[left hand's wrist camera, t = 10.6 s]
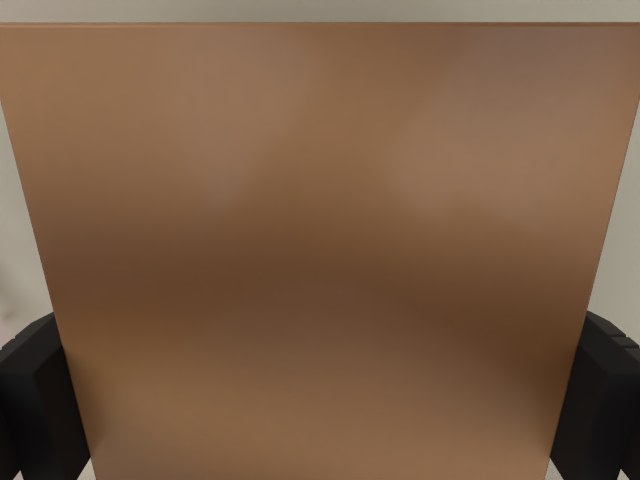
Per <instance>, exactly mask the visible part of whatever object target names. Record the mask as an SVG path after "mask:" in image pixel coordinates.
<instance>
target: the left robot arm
mask: <svg viewBox="0 0 640 480" xmlns="http://www.w3.org/2000/svg"><path fill="white" fill-rule="evenodd" d="M550 458H551V460H552V462H553V463H554V465H555V466H556V468H557V470H558V471H559V473H560V474H561V476H562V478H563V479H564V480H617V478H618V475H619V472H620V469H622V471H623V472H624V473H625V474H626V476H627V477H628V478H629V480H640V348H639V345H638V344H637V343H635V342H634V341H633V340H632V339H630V338H629V337H626V334H624V333H623V332H622V331H621V330H619V329H618V328H617V327H616V326H615V325H613V324H612V323H611V322H610V321H608V320H606V319H604V318H602V317H600V316H598V315H596V314H594V313H592V312H590V311H588V310H587V312H586V316H585V320H584V324H583V328H582V332H581V336H580V340H579V344H578V348H577V352H576V356H575V359H574V363H573V367H572V371H571V375H570V379H569V383H568V387H567V391H566V395H565V399H564V403H563V407H562V411H561V415H560V419H559V423H558V427H557V431H556V435H555V439H554V443H553V447H552V451H551V455H550ZM89 459H90V453H89V449H88V445H87V441H86V437H85V433H84V429H83V425H82V421H81V417H80V413H79V409H78V406H77V402H76V398H75V394H74V390H73V386H72V382H71V378H70V374H69V370H68V366H67V362H66V358H65V354H64V350H63V346H62V342H61V338H60V334H59V330H58V326H57V322H56V318H55V314H54V312H52V313H50V314H48V315H46V316H44V317H42V318H40V319H38V320H36V321H34V322H32V323H31V324H29V325H28V326H27V327H26V328H25V329H23V330H22V331H21V332H20V333H19V334H17V335H16V336H15V339H11V340H10V341H9V342H8V343H6V344H5V345H4V346H3V347H2V350H0V480H13V479H14V478H15V476H16V475H17V474H18V472H19V471H20V470H21V473H22V476H23V479H24V480H77V478H78V477H79V475H80V474H81V472H82V470H83V469H84V467H85V465H86V464H87V462H88V461H89Z"/></svg>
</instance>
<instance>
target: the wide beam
mask: <svg viewBox="0 0 640 480" xmlns="http://www.w3.org/2000/svg"><path fill="white" fill-rule="evenodd" d="M0 100H1V104H2V108H3V112H4V116H5V120H6V124H7V128H8V132H9V136H10V140H11V144H12V148H13V152H14V156H15V160H16V164H17V168H18V172H19V176H20V180H21V184H22V188H23V192H24V196H25V200H26V203H27V207H28V211H29V215H30V219H31V223H32V227H33V231H34V235H35V239H36V243H37V247H38V251H39V255H40V259H41V263H42V267H43V271H44V275H45V279H46V283H47V287H48V291H49V295H50V299H51V303H52V306H53V310H54V314H55V318H56V322H57V326H58V330H59V334H60V338H61V342H62V346H63V350H64V354H65V358H66V362H67V366H68V370H69V374H70V378H71V382H72V386H73V390H74V394H75V398H76V402H77V406H78V409H79V413H80V417H81V421H82V425H83V429H84V433H85V437H86V441H87V445H88V449H89V453H90V457H91V461H92V465H93V469H94V473H95V477H96V480H544V479H545V475H546V471H547V467H548V463H549V459H550V455H551V451H552V447H553V443H554V439H555V435H556V431H557V427H558V423H559V419H560V415H561V411H562V407H563V403H564V399H565V395H566V391H567V387H568V383H569V379H570V375H571V371H572V367H573V363H574V359H575V356H576V352H577V348H578V344H579V340H580V336H581V332H582V328H583V324H584V320H585V316H586V312H587V308H588V304H589V300H590V296H591V292H592V288H593V284H594V280H595V276H596V272H597V268H598V264H599V260H600V256H601V252H602V248H603V244H604V240H605V236H606V232H607V228H608V224H609V220H610V216H611V212H612V208H613V204H614V200H615V196H616V192H617V188H618V184H619V180H620V176H621V172H622V168H623V164H624V160H625V156H626V152H627V148H628V144H629V140H630V136H631V132H632V128H633V124H634V120H635V116H636V112H637V108H638V104H639V100H640V22H231V23H0Z"/></svg>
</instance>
